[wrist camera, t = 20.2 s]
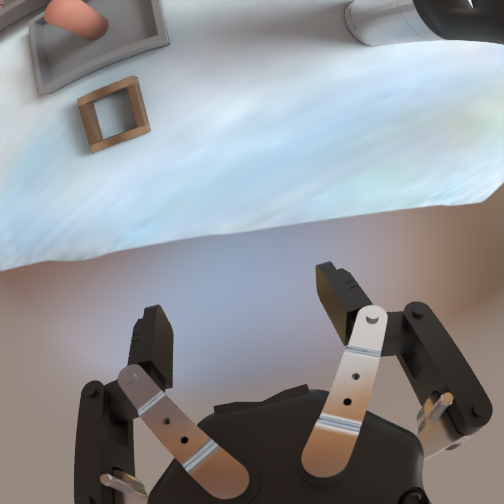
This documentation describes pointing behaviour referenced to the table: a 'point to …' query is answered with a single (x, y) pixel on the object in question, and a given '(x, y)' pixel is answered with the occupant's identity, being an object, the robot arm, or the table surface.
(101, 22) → the dowel
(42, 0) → the organizer tray
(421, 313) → the robot arm
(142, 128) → the dowel collar
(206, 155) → the table surface
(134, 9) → the tray
